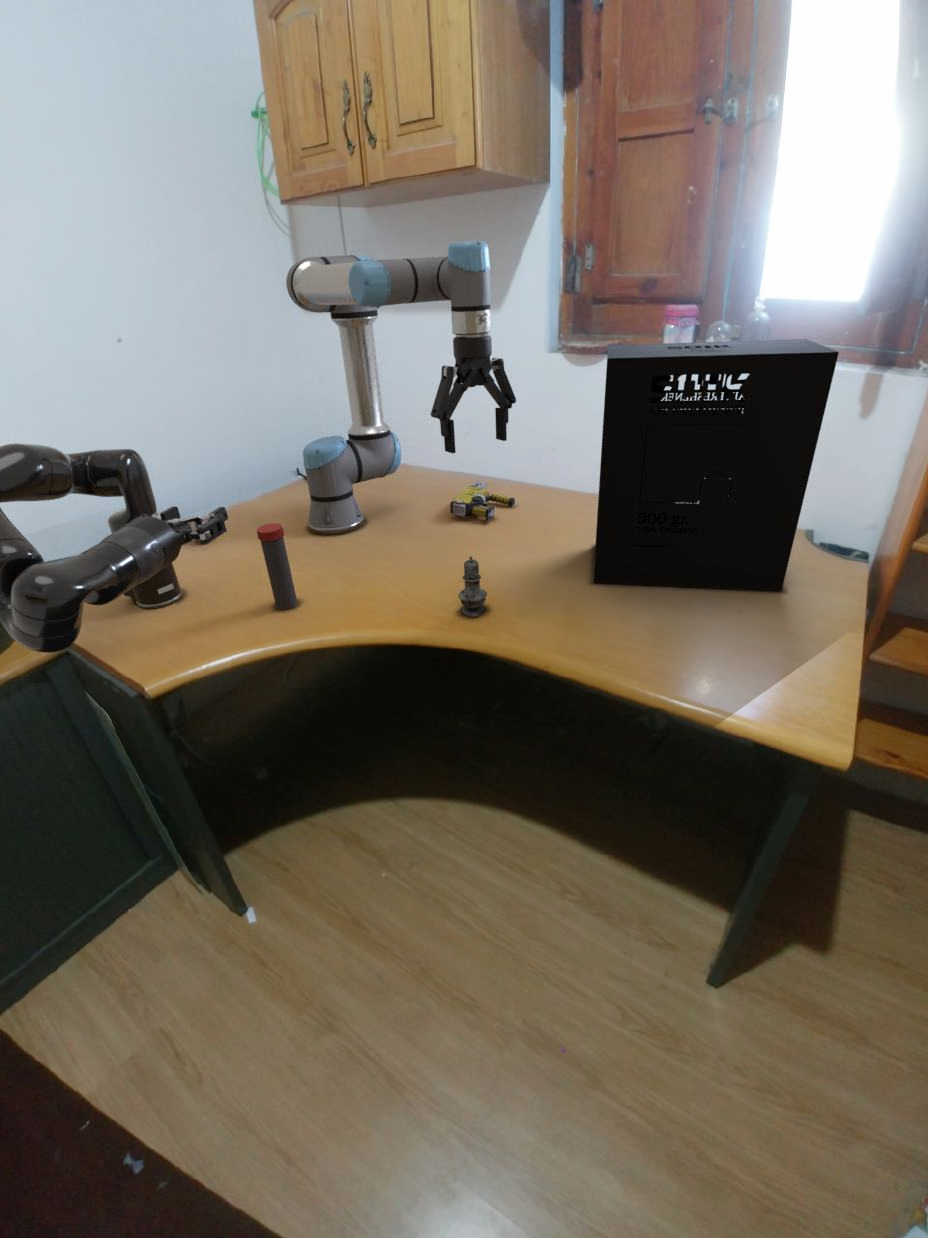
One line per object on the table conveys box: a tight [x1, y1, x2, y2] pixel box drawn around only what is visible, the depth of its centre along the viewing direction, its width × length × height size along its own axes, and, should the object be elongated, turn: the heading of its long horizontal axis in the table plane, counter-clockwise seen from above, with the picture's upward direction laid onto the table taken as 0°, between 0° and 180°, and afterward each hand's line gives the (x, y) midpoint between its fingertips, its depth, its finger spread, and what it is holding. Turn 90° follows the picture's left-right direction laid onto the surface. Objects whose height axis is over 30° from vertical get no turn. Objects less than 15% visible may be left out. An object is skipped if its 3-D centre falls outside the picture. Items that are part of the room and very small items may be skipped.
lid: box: [256, 522, 285, 542], centre depth 121 cm, size 5×5×2 cm
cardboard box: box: [593, 338, 840, 592], centre depth 124 cm, size 38×20×45 cm, turn 78°
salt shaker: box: [457, 555, 488, 617], centre depth 120 cm, size 6×6×12 cm
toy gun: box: [449, 480, 516, 522], centre depth 174 cm, size 5×24×15 cm
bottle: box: [259, 536, 298, 611], centre depth 125 cm, size 4×4×17 cm
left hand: (200, 512), depth 98 cm, fingers open, 8 cm apart
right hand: (476, 445), depth 127 cm, fingers open, 13 cm apart
